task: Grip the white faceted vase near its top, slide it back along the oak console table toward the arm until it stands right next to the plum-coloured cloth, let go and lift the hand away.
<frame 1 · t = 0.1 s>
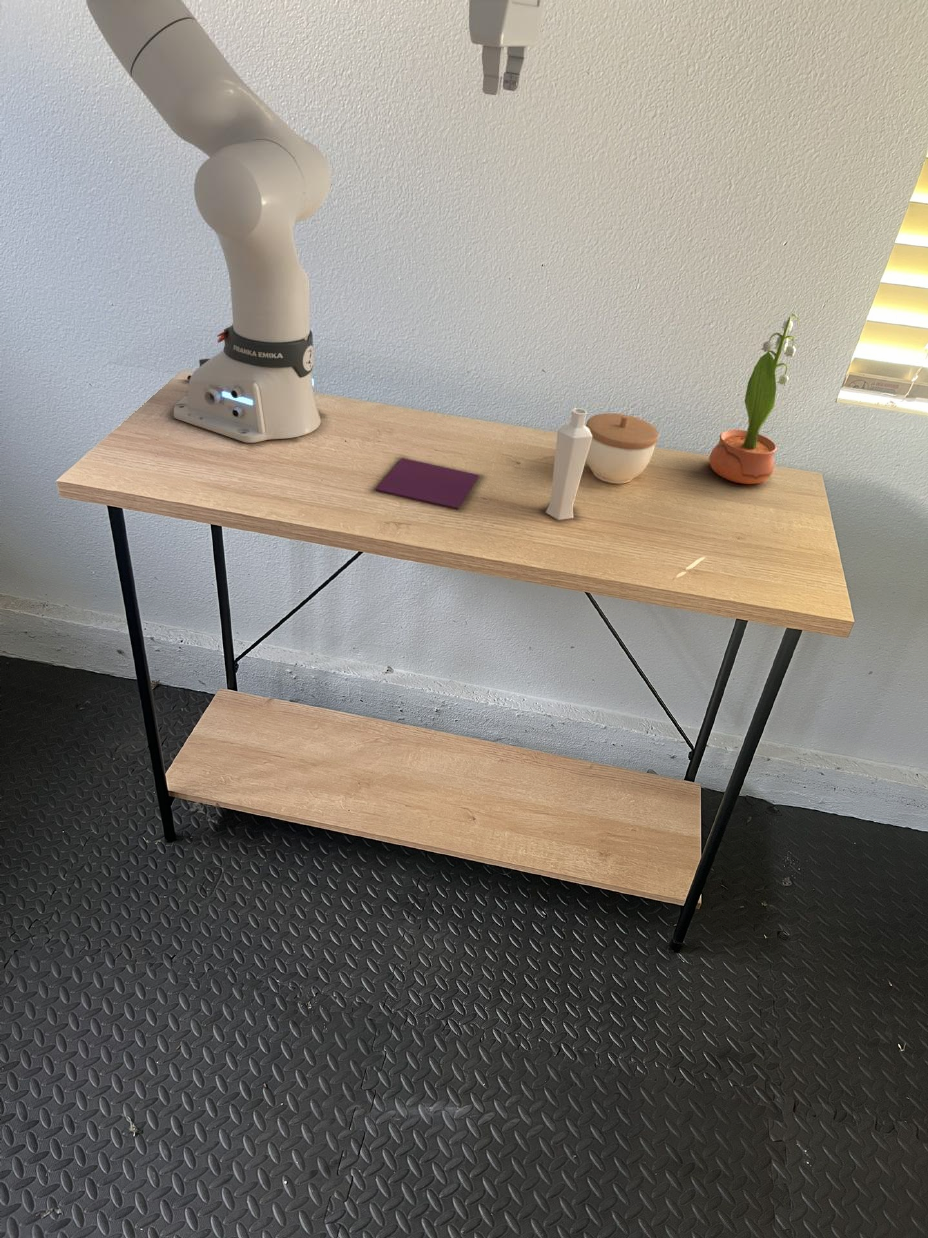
hand: (501, 92, 101), 48 cm above the table, tool pointing down, fingers open, 8 cm apart
potted flower: (738, 473, 136), on the table
white faceted vase: (561, 514, 119), on the table
trinket box: (611, 475, 130), on the table
cloth: (428, 483, 122), on the table
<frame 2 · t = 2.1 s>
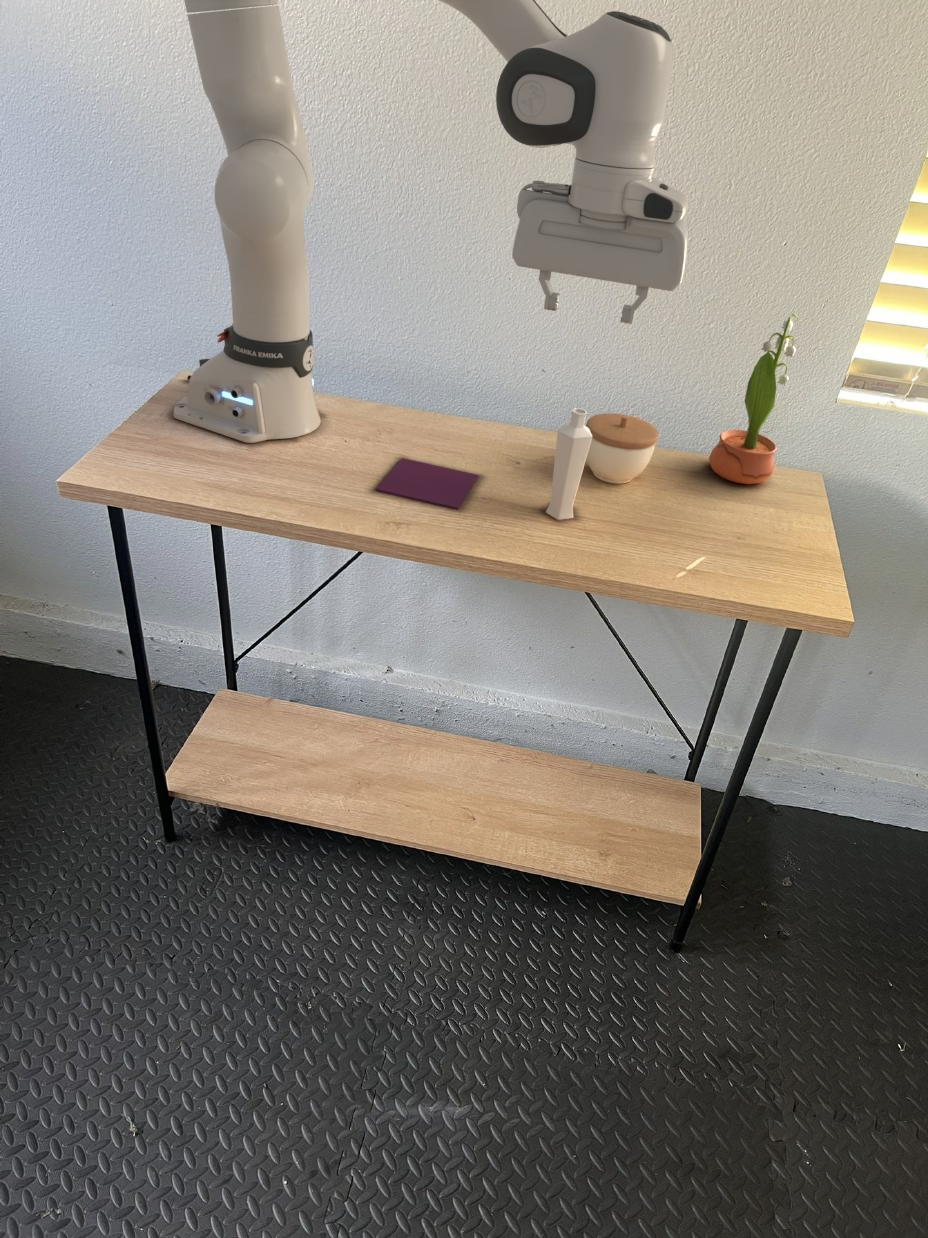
hand: (588, 315, 104), 27 cm above the table, tool pointing down, fingers open, 8 cm apart
nothing on the table moved.
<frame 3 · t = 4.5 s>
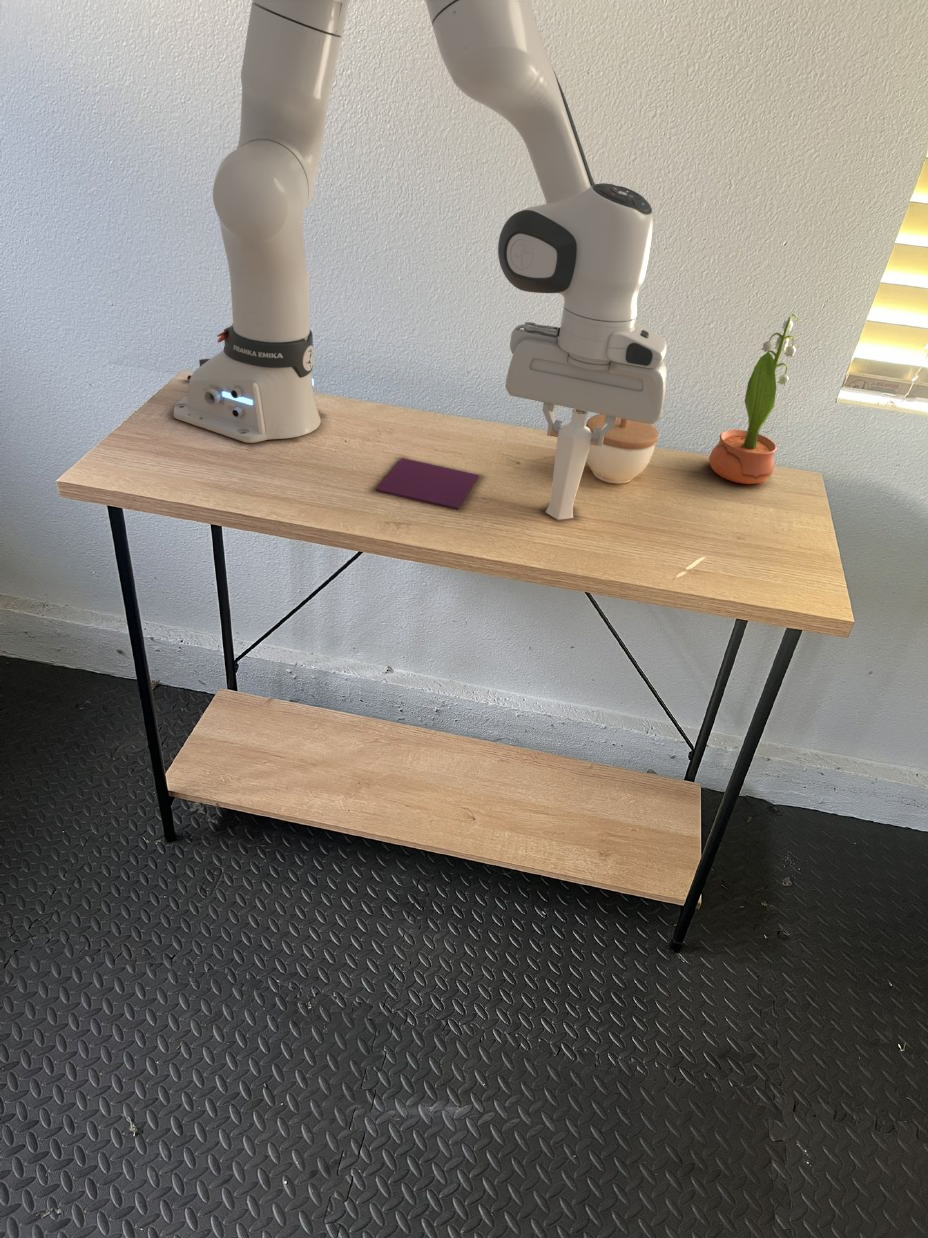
hand: (575, 439, 112), 11 cm above the table, tool pointing down, fingers closed on white faceted vase, 4 cm apart
white faceted vase: (560, 514, 119), on the table, touching gripper
everything else where it was.
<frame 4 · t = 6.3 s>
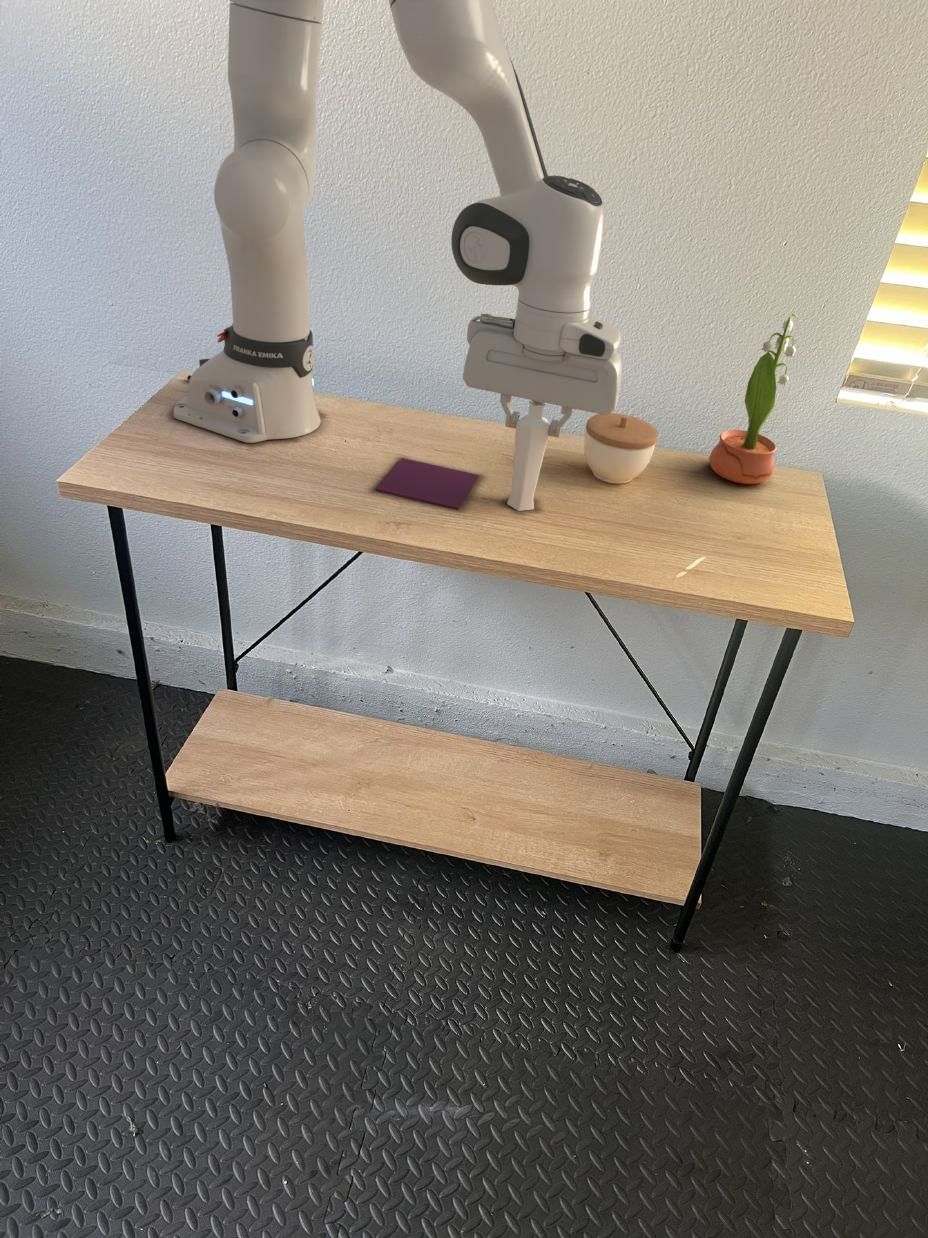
hand: (533, 430, 113), 11 cm above the table, tool pointing down, fingers closed on white faceted vase, 4 cm apart
white faceted vase: (522, 506, 119), on the table, touching gripper
everything else where it was.
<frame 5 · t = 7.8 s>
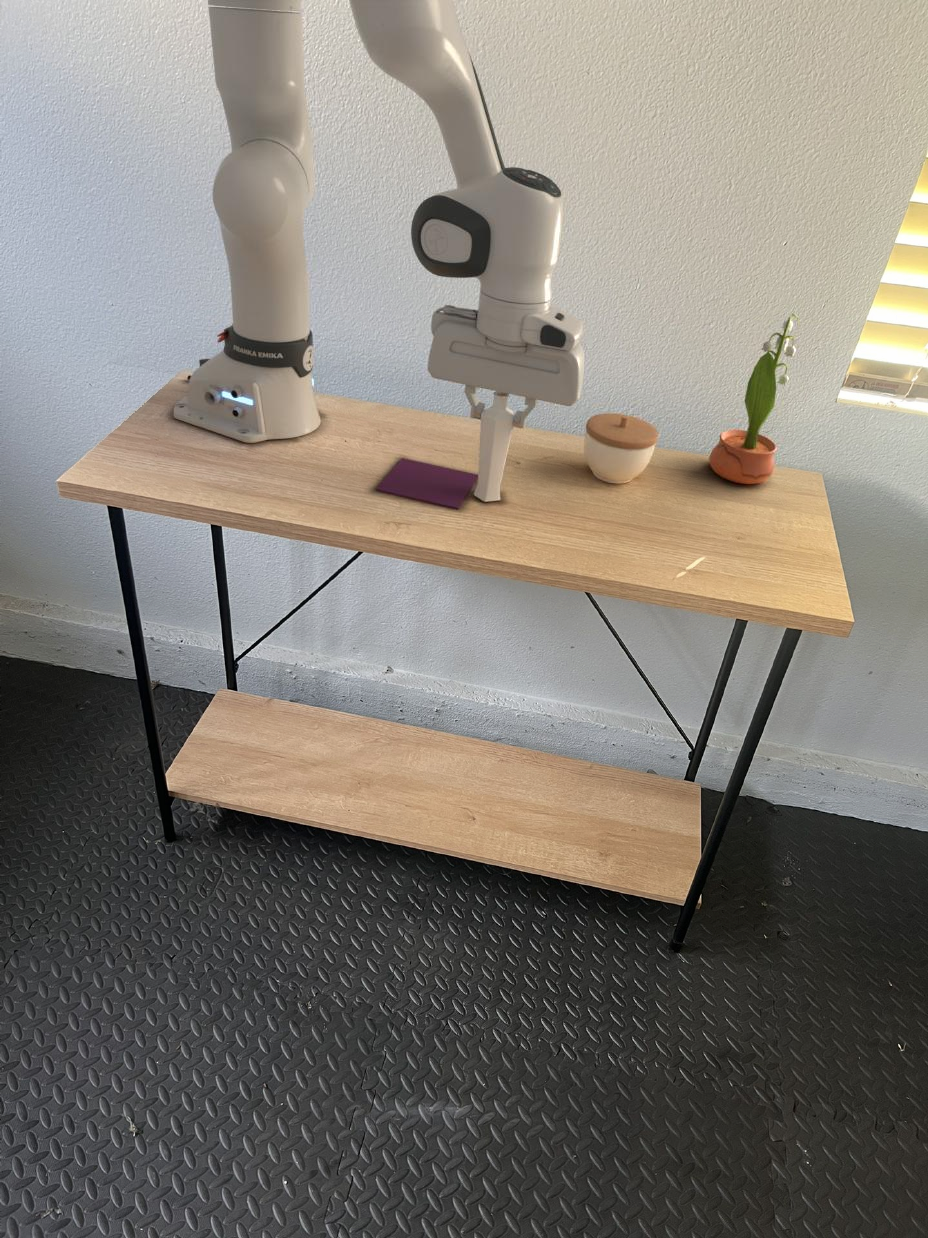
hand: (498, 421, 114), 11 cm above the table, tool pointing down, fingers closed on white faceted vase, 4 cm apart
white faceted vase: (488, 496, 120), on the table, touching gripper
everything else where it was.
when the fingers open (11 cm above the table, at t = 8.6 s): white faceted vase stays where it is, on the table.
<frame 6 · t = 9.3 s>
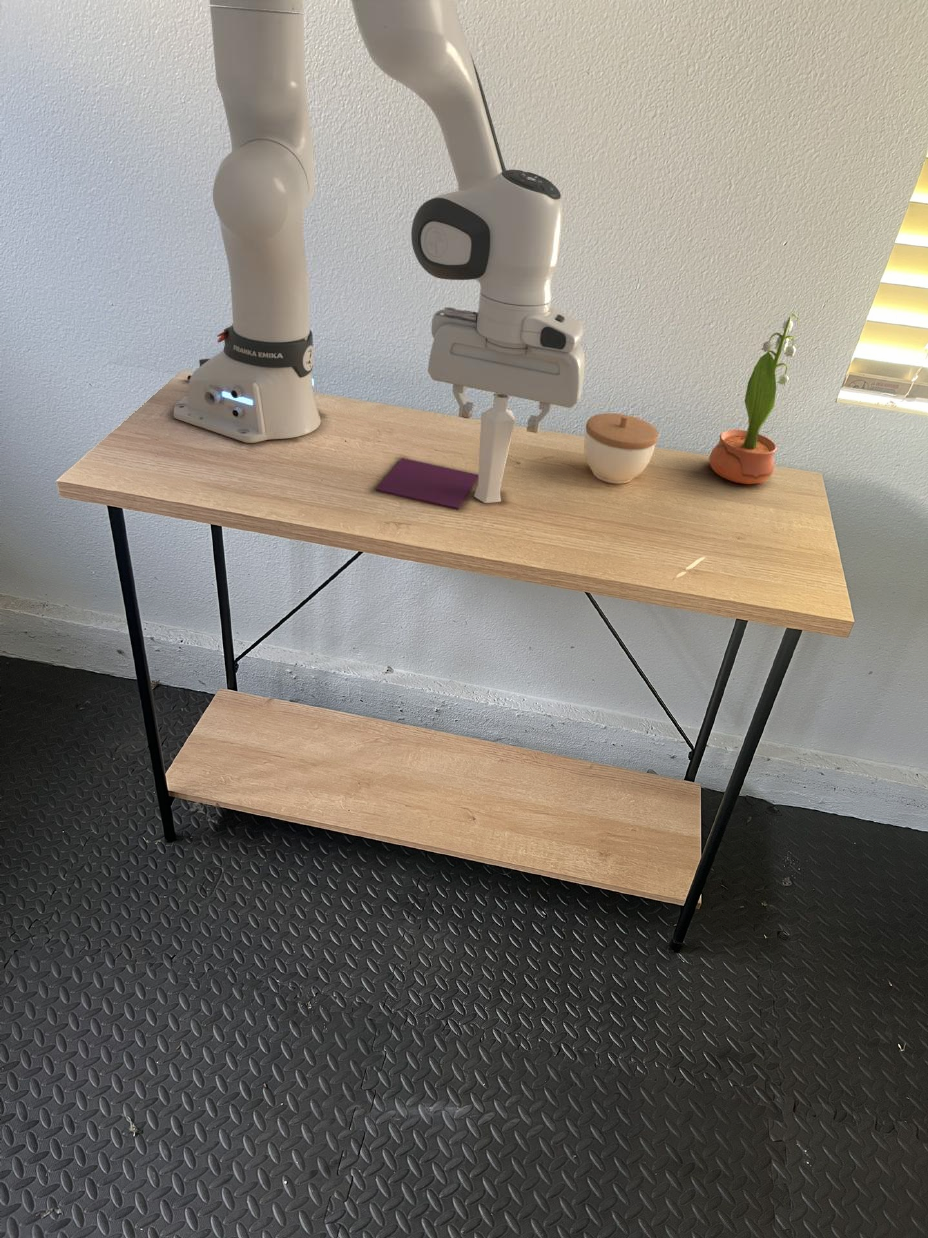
hand: (498, 423, 114), 11 cm above the table, tool pointing down, fingers open, 8 cm apart
white faceted vase: (489, 498, 120), on the table
everything else where it was.
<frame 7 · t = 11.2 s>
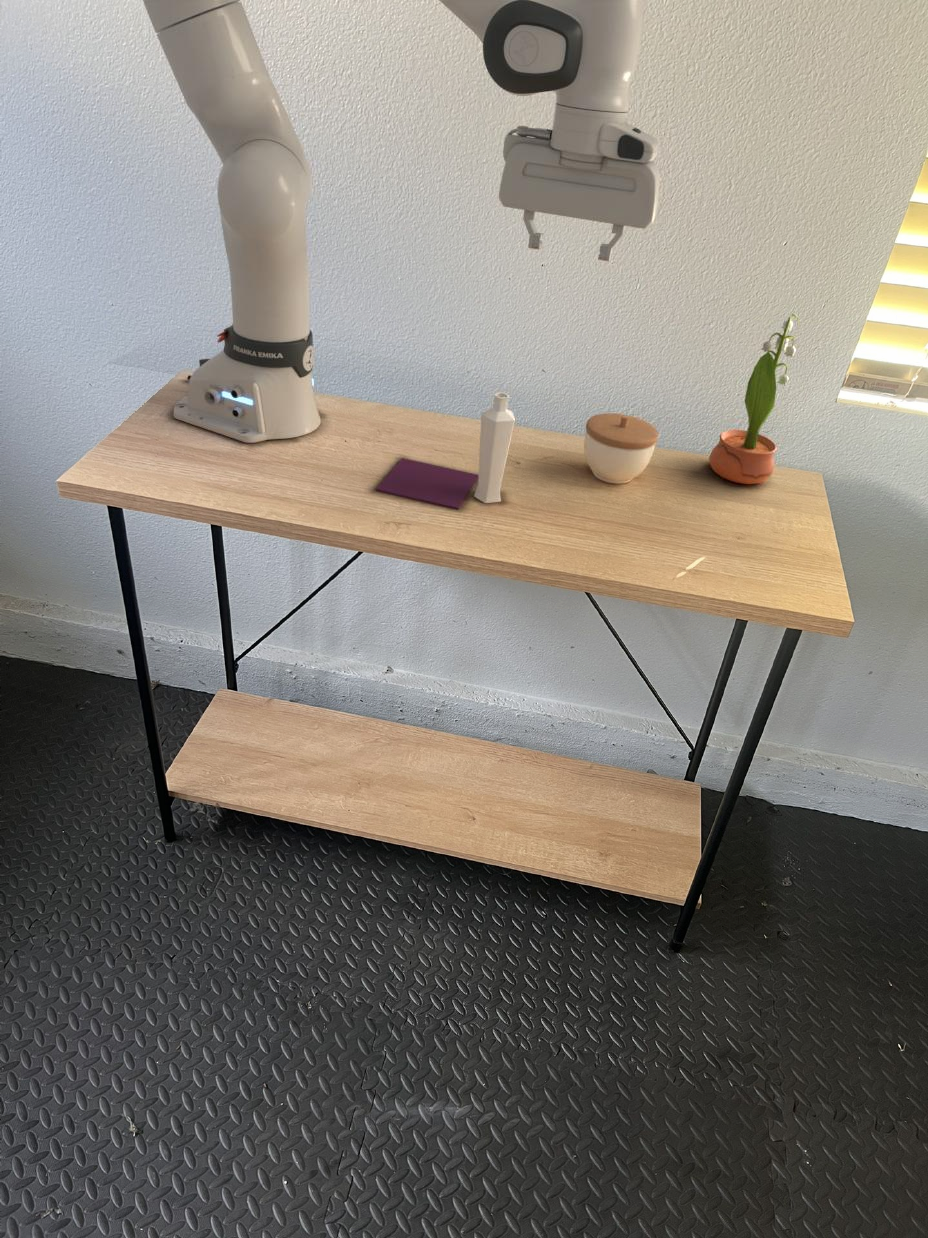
hand: (569, 253, 112), 31 cm above the table, tool pointing down, fingers open, 8 cm apart
nothing on the table moved.
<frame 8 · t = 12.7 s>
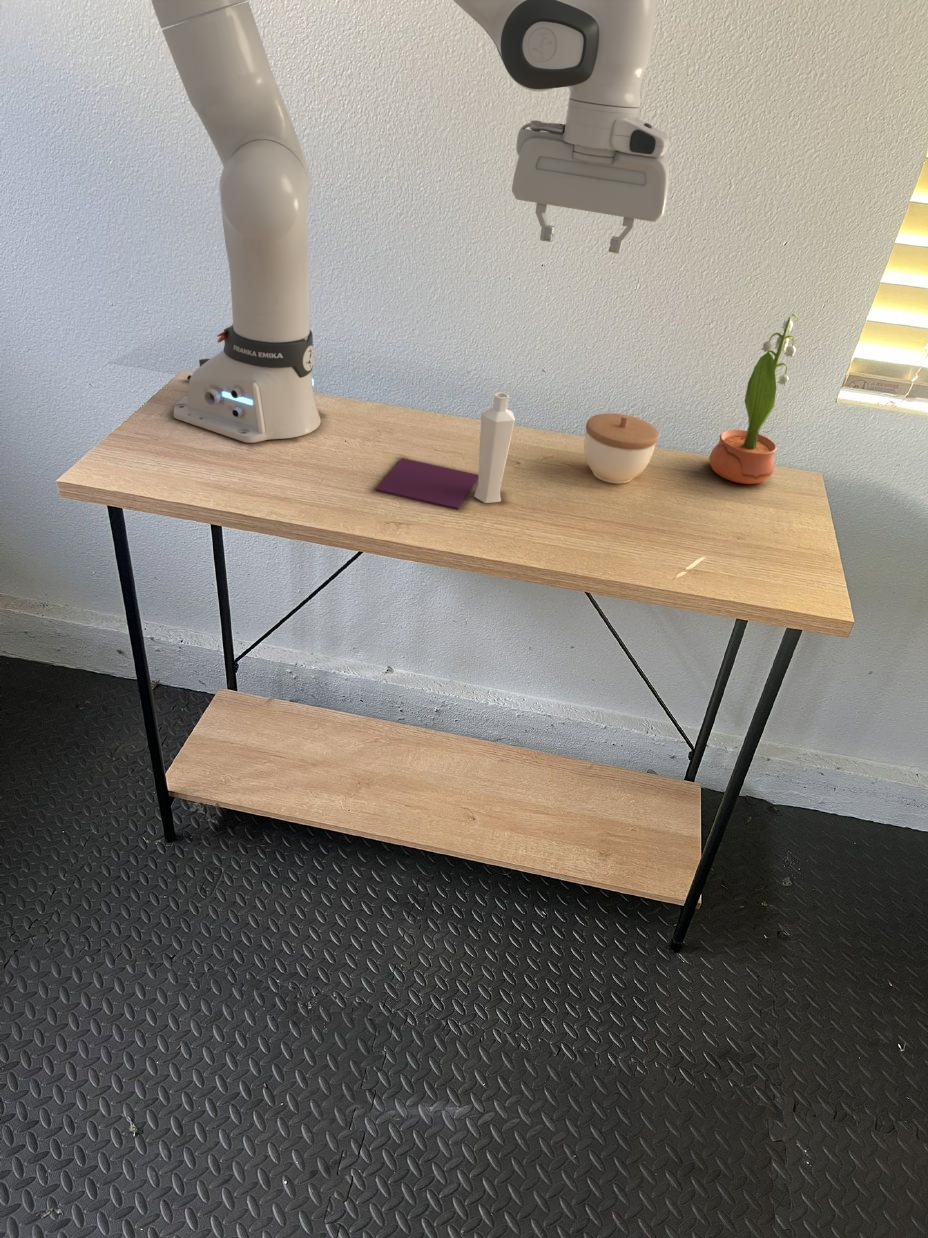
hand: (580, 246, 115), 31 cm above the table, tool pointing down, fingers open, 8 cm apart
nothing on the table moved.
at the end: white faceted vase 0.6 cm from the target spot, on the table; white faceted vase tilted 0°; the gripper is holding nothing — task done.
